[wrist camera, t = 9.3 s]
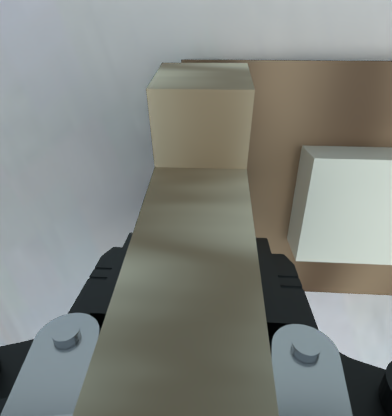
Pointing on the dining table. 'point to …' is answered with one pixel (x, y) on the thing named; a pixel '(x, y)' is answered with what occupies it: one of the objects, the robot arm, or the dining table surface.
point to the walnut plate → (312, 136)
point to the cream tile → (343, 205)
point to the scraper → (189, 265)
